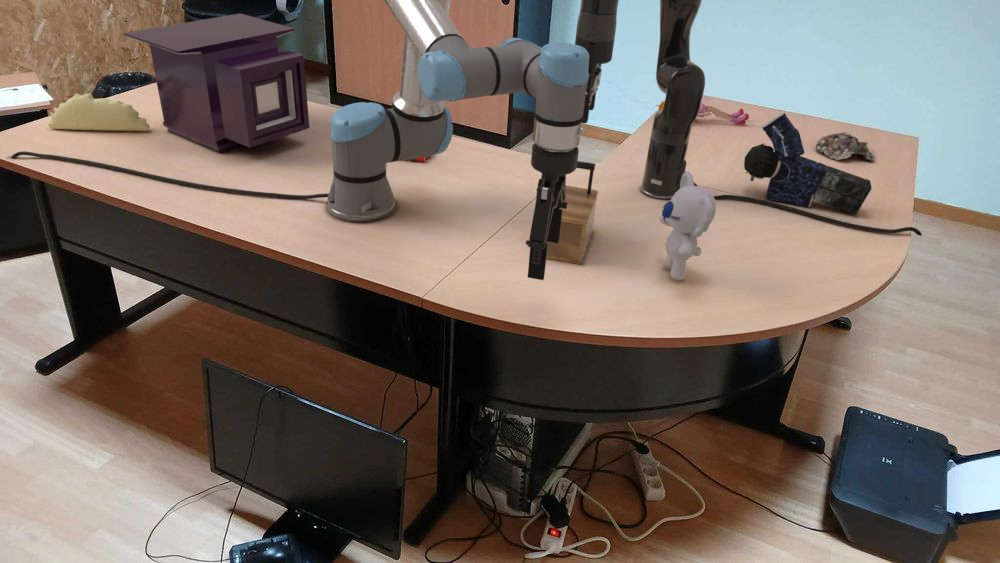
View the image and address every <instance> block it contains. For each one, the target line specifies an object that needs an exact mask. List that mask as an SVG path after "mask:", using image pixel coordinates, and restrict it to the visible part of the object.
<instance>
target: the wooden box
mask: <svg viewBox="0 0 1000 563" xmlns="http://www.w3.org/2000/svg"><path fill="white" fill-rule="evenodd" d="M597 199H598V196H597V197H596V200H595V203H594V205H593V208H592V211H591V214H590V217H589V220H588V222H587V225H586V226H584V225H579V224H573V223H567V222H561V227H560V236H559V243H552V242H547V244H548V246H547V256H546V259H548V260H554V261H561V262H565V263H569V264H577V265H582V263H583V260H584V257H585V253H586V250H587V247H588V245H589V241H590V238H591V236H592V233H593V227H594V220H595V214H596V213H595V212H596V207H597Z"/></svg>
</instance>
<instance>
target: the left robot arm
mask: <svg viewBox="0 0 1000 563" xmlns="http://www.w3.org/2000/svg"><path fill="white" fill-rule="evenodd" d="M384 2H385V4H386V5H387V6H388V9H389V10H390V12H391V13H392V15H393V16H394V19H395V20H396V22H397V23H398V25H399V26H400V27H401V30H402V31H403V32H404V38H403V52H402V66H401V75H400V90H399V91H397V92H396V93H395V94H394V95H393V97H392V104H391V108H384V106H383V105H382V104H379V103H377V102H371V101H369V102H366V101H361V102H360V101H359V102H353V103H350V104H347V105H344V106H342V107H340V108H338V109H337V110H336V111H335V112H334V113H333V114H332V116H331V119H330V133H329V138H330V139H331V140H330V142H331V154H332V155H331V156H332V169H333V170H332V171H333V178H332V180H331V181H332V182H331V184H330V189H329V191H328V193H316V194H314V193H313V194H304V195H303V194H287V193H275V192H266V191H265V192H264V191H254V190H246V189H245V190H244V189H238V188H237V189H236V188H229V187H221V186H214V185H208V184H204V183H203V184H201V183H198V182H197V183H196V182H191V181H185V180H180V179H177V178H176V179H175V178H170V177H167V176H166V177H165V176H161V175H157V174H152V173H148V172H143V171H141V170H140V171H139V170H135V169H130V168H126V167H121V166H116V165H112V164H107V163H103V162H97V161H92V160H88V159H87V160H86V159H81V158H74V157H69V156H63V155H55V154H46V153H37V152H32V151H25V150H24V151H16V152H14V154H12V155H11V156H10V159H12V160H13V159H16V158H17V157H19V156H30V157H35V158H41V159H42V158H43V159H52V160H53V159H54V160H61V161H66V162H72V163H78V164H84V165H90V166H94V167H95V166H96V167H100V168H106V169H111V170H115V171H118V172H119V171H121V172H124V173H129V174H133V175H137V176H141V177H145V178H150V179H154V180H159V181H164V182H169V183H173V184H178V185H182V186H187V187H188V186H189V187H192V188H199V189H205V190H212V191H217V192H224V193H232V194H233V193H234V194H240V195H248V196H249V195H250V196H260V197H269V198H281V199H292V200H293V199H294V200H311V199H320V198H327V201H326V205H327V206H326V207H327V211H328V213H329V214H330V215H331V216H332V217H334V218H336V219H339V220H342V221H346V222H352V223H368V222H374V221H379V220H382V219H384V218H387V217H388V216H390V215H391V214H393V212H394V211H395V208H396V200H395V196H394V193H393V190H392V187H391V185H390V182H389V180H388V179H389V178H388V177H387V164H389V163H395V162H401V161H407V160H408V159H414V158H421V157H423V158H425V159H428V158H430V157H433V156H437V155H441V154H442V153H444V152H446V150H448V148H449V146H450V145H451V141H452V138H453V132H454V124H453V123H452V122H453V116H452V113H451V111H450V109H449V107H448V106H447V105H446V102H458V101H461V100H470V99H476V98H477V99H478V98H483V97H491V96H501V95H509V94H516V93H517V94H518V93H519V94H520V93H523V94H526V95H527V96H529V97H531V98H533V99H535V113H534V121H533V129H532V142H533V144H532V146H531V147H532V148H531V157H530V165H531V167H532V168H533V169H534V170H535V171H536V172H539V173H541V176H540V177H541V178H539V179H538V183H537V188H536V196H535V203H534V210H533V216H532V222H531V227H530V234H529V238H528V240H525V245H527V247H528V248H529V257H528V258H529V259H528V267H527V268H528V269H527V278H528V279H534V280H539V281H544V280H545V274H546V263H547V258H546V256H547V246H548V244H547V242H552V243H559V236H560V227H561V219H562V210H560V208H563V209H566V208H567V203H566V202H563V201H564V200H565V199H566V196H565V191H566V186H567V184H566V182H567V175H570V174H572V173H574V172H575V171H576V169H577V168H576V167H577V161H579V152H580V150H579V147H578V146H579V145H580V140H581V135H584V134H585V133H586V130H585V128H584V127H581V126H582V124H583V123H582V117H583V111H584V104H585V96H586V89H587V82H588V79H589V73H588V69H589V53H588V52H587V50H586V49H585V48H583V47H581V46H579V45H575V44H573V43H569V42H550V43H546V44H545V45H543V46H542V47H541V46H539V45H537V44H536V43H534V41H530V40H528V39H523V38H520V37H510V38H507V39H506V40H504V41H503V42H502V43H500V44H499V45H496V46H483V47H482V46H481V47H470V45H469V44H468V42H467V41H466V40H465V38H464V37H463V35H462V34H461V33H460V31H459V29H458V28H457V26H456V25H455V24H454V22H453V21H452V19H451V18H450V10H451V9H450V8H451V0H384ZM427 157H428V158H427Z"/></svg>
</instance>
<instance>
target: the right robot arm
mask: <svg viewBox="0 0 1000 563" xmlns="http://www.w3.org/2000/svg"><path fill="white" fill-rule="evenodd" d="M619 1H620V0H580V6H579V7H580V9H579V13H578V18H577V23H576V31H575V40H574V45H579V46H581V47H583V48H585V49H586V50H587V52H588V53H589V69H588V73H589V79H588V82H587V89H586V96H585V104H584V111H583V117H582V124H587V123H588V122H589V115H590V111H593V110H594V109H595V103H596V96H597V92H598V91H599V86H600V84H601V77H602V72H603V69H602V65H603V64H604V65H605V64H608V63H610V62H611V61H612V59H613V53H614V46H615V40H616V32H617V20H618V19H617V15H618V6H619ZM702 2H703V0H659V43H658V44H659V45H658V55H657V61H656V62H657V63H656V70H655V80H656V84H657V87H658V89H659V90H660V91H661V92H662V93H663V94H664V95H665V99H664V101H665V103H664V107H663V110H661V111H659V110H658V111H656V113H655V114H654V116H653V122H652V128H651V133H650V138H649V144H648V148H647V156H646V160H645V161H646V162H645V165H644V172H643V178H642V183H641V186H640V190H641V192H642V193H643V194H645V195H646V196H649V197H651V198H655V199H660V200H661V199H662V200H669V199H670V200H671V199H672V197H673V196H674V194H675V193H676V192H677V191H678V190H679V189H680V182H681V178H682V175H683V173H684V172H686V171H687V170H686V167H687V160H686V156H687V151H688V146H689V141H690V136H691V132H692V128H693V124H694V123H695V122H696V121H697V117H698V116H697V115H698V112H699V108H700V104H701V103H702V100H703V96H704V92H705V88H706V87H705V86H706V75H705V72H704V70H703V69H702V68H701V67H700V66H699V65H698V64H696V63H694V62H693V61H692V60H691V55H690V54H691V51H690V47H691V46H690V43H691V41H690V40H691V32H692V28H693V26H694V22H695V20H696V19H697V16H698V13H699V10H700V8H701V5H702ZM694 186H698V185H697V183H696V182H694ZM713 197H714V199H715V201H716V200H722V199H729V200H737V201H738V200H739V201H746V202H750V203H755V204H761V205H764V206H765V205H766V206H770V207H774V208H778V209H782V210H786V211H788V212H793V213H796V214H800V215H803V216H807V217H809V218H812V219H813V218H814V219H816V220H820V221H824V222H828V223H831V224H834V225H835V224H836V225H840V226H842V227H847V228H851V229H857V230H862V231H867V232H872V233H873V232H874V233H881V234H898V233H899V234H900V233H903V232H913V233H915V235H916V236H920V237H921V236H923V233H922V232H921V231H920V230H919V229H918V228H916V227H913V226H906V227H901V228H894V229H892V228H891V229H890V228H889V229H887V228H879V227H872V226H866V225H861V224H855V223H851V222H847V221H843V220H838V219H835V218H831V217H828V216H823V215H820V214H816V213H814V212H813V213H812V212H809V211H807V210H804V209H803V210H802V209H799V208H796V207H791V206H788V205H784V204H781V203H777V202H773V201H770V200H769V201H768V200H764V199H760V198H754V197H749V196H743V195H735V194H718V195H713Z"/></svg>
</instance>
